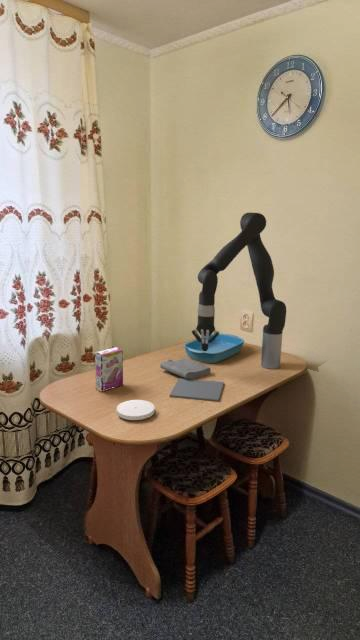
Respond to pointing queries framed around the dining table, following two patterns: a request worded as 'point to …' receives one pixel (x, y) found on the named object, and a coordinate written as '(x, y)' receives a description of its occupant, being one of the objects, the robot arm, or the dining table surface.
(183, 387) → the mat
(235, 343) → the casserole dish
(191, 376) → the hip flask
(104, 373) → the candy bar box
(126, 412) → the plastic lid
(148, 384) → the dining table surface
